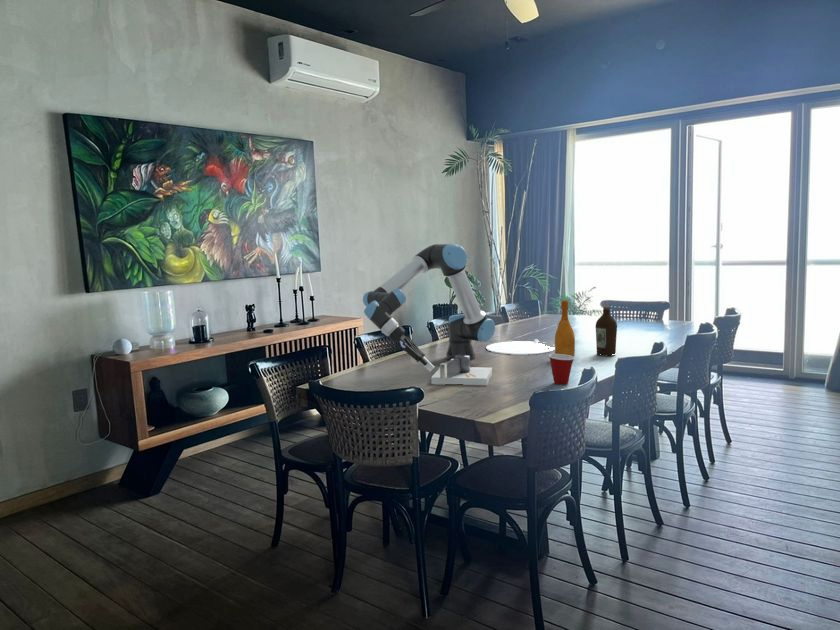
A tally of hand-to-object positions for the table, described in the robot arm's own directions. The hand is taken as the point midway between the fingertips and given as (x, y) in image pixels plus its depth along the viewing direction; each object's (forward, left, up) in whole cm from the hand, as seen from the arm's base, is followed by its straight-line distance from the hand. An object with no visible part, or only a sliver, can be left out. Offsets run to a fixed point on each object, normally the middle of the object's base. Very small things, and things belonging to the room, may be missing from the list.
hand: (432, 369), depth 263 cm
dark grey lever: (-6, +9, -3) cm, 11 cm away
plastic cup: (-8, +54, -7) cm, 55 cm away
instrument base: (-13, +11, -7) cm, 19 cm away
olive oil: (-73, +77, -7) cm, 107 cm away
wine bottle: (-59, +56, -7) cm, 82 cm away
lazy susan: (-89, +33, -7) cm, 95 cm away
